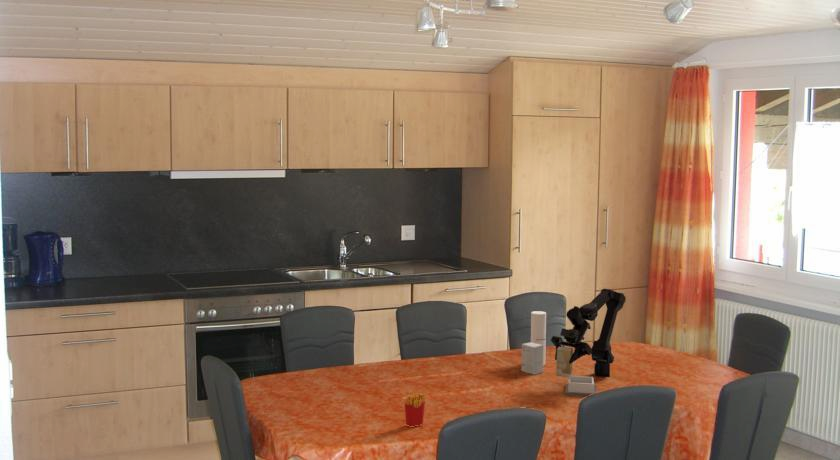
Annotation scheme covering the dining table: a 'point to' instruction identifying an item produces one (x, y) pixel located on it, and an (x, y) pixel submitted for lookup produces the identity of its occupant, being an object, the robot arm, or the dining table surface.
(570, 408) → the dining table surface
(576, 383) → the holder
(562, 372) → the skincare box
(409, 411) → the french fries
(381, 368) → the dining table surface
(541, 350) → the small box
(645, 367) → the dining table surface
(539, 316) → the cylindrical container
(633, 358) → the dining table surface
